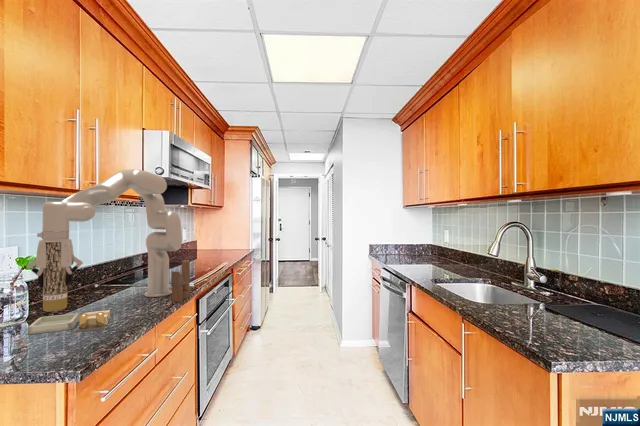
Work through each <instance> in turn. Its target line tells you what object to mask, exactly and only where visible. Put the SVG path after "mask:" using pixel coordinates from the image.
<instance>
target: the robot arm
mask: <svg viewBox="0 0 640 426" xmlns="http://www.w3.org/2000/svg"><path fill="white" fill-rule="evenodd" d="M167 188H168V184H167V181H166V179H165V178H164V177H162V176H160V175H158V174H155V173H152V172H149V171H145V170H142V169H138V168H137V169H136V168H135V169H121V170H118V171H117V172H115V173H113V174H112V175H110V176H109V177H107V178H105V179H104V180H102V181H100V182H99V183H97V184H95V185H92V186H90V187H88V188H85V189H83V190H80V191H77V192H75V193H73V194H72V195H70V196H68V197H66V198H64V199H63V200H61V201H46V202H44V203H43V205H42V231H41V232H37V234H36V237H37V238H41V239H40V240H39V241H38V244H37V250H36V257H35V259H33V260H32V261H30V262H29V263H27V264H26V267H27V269H28V270H30V271H31V272H32V273H33V274H35V275H36V276H37V285H38V286H39V287H40V288H43V269H45V268H46V243H45V242H46V241H58V240H61V241H62V246H61V267H62V268H65V267H66V271H67V275H66V285H67V286H70V285H71V283H73V273H74V272H76V271H77V270H78V269H79V268H80V267H81V266H82V265H83V264H84V262H83V261H82V260H80V259H79V258H77V257H76V256H74V255H75V253H74V247H73V246H74V245H73V241H72V239H70V222H74V223H76V222H80V223H81V222H82V223H84V222H88V221H90V220H92V219H93V218H94V216H95V215H96V209H95V206H98V205H99V206H100V205H103V204H107V203H110V202H113V201H114V200H116V199H117V198H119V197H120V196H121V195H122V194H124V193H126V192H127V191H128V190H133V192H135V193H136V194H138V195H139V196H140V197H141V198H142V200H143V201H144V205H145V212H146V213H145V214H146V222H147V225H148V227H149V228H150V229H152V230H165V231H153V232H151V233H149V234H148V235H147V236H146V239H145V247H146V249H147V291H145V292H144V296H145V297H146V298H147V297H148V298H159V297H166V296H169V295H172V289H170V257H169V255H168V252H176V251H178V250H180V249H181V247H182V245H183V235H182V234H183V233H182V222H181V221H182V220H181V218H180V214H178V213H177V212H176V211H175V210H166V207H165V206H166V205H165V199H164V197H163V195H162V194H163V193H164V192H165V191H166V190H167ZM74 263H76V265H74ZM73 265H74V266H73ZM33 266H35V268H33ZM72 266H73V267H72ZM30 268H32V269H30Z"/></svg>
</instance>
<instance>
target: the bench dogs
mask: <svg viewBox="0 0 640 426" xmlns="http://www.w3.org/2000/svg"><path fill="white" fill-rule="evenodd" d="M87 317H88V314H85V313H81V314H80V315H79V321H78V327H77V328H76V330H75V333H83V332H91V331H101V330H104V329H105V327H106V325H105V324H104V312H98V313H96V325H95V326H87Z"/></svg>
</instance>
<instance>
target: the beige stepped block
mask: <svg viewBox="0 0 640 426" xmlns="http://www.w3.org/2000/svg"><path fill="white" fill-rule="evenodd" d="M98 312H104V324H105V326H107V325H108V323H109V321H110V319H111V309H107V310H99V311H97V310H96V311H89V312H84V314H88V317H87V326H95V325H96V313H98Z"/></svg>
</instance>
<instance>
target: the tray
mask: <svg viewBox="0 0 640 426" xmlns="http://www.w3.org/2000/svg"><path fill="white" fill-rule="evenodd" d="M79 315H81V314H80V312H78V313H75V312H74V313H67V314H57V315H47V316H40V317H39V318H37V319H35V320H34V322H32V323H31V324H30V325H29V326H28V327H27V335H29V336H30V335H38V334H47V333H54V332H61V331H62V332H65V331H70V330H73V328H74V327H75V326H76V325H77V323H79Z"/></svg>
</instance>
